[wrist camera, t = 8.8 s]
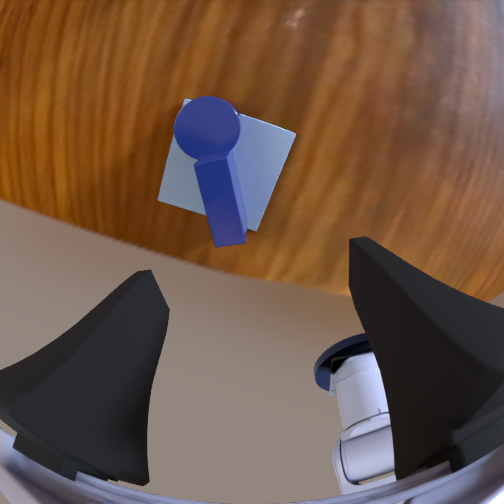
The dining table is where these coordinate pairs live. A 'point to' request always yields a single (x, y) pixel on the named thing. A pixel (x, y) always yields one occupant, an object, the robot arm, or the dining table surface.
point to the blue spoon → (215, 163)
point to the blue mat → (247, 164)
